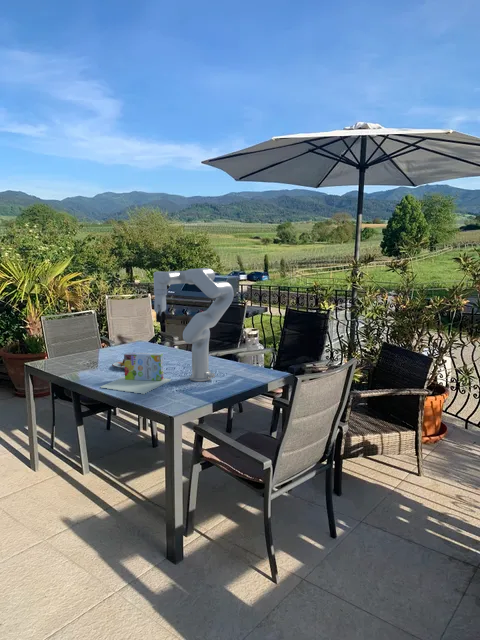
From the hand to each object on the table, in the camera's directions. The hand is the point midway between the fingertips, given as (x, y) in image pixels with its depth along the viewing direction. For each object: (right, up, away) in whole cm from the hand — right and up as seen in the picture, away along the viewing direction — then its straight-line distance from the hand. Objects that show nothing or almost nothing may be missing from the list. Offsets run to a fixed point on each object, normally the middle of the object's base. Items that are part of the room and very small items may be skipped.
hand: (161, 321), depth 254 cm
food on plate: (-21, -30, +17) cm, 40 cm away
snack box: (-7, -33, -13) cm, 36 cm away
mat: (-10, -35, -20) cm, 41 cm away
